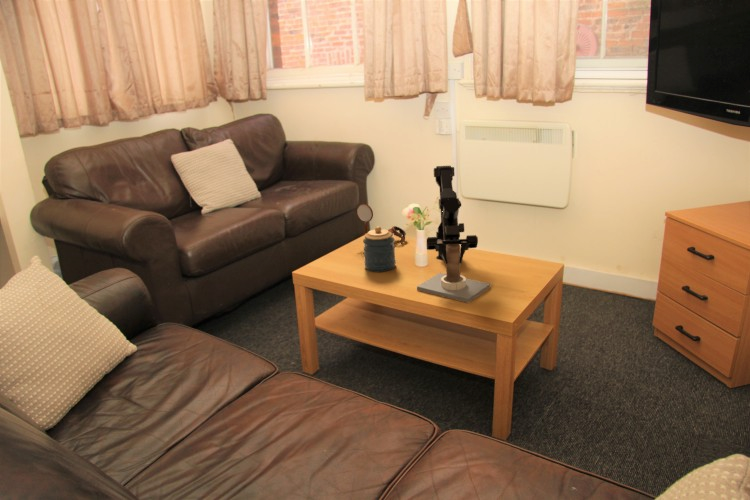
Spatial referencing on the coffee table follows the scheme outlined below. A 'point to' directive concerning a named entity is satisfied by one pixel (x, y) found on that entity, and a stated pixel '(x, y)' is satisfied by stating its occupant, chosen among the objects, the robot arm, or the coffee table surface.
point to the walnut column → (453, 262)
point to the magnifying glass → (364, 214)
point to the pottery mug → (402, 232)
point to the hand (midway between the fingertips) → (453, 263)
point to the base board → (454, 294)
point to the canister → (379, 250)
